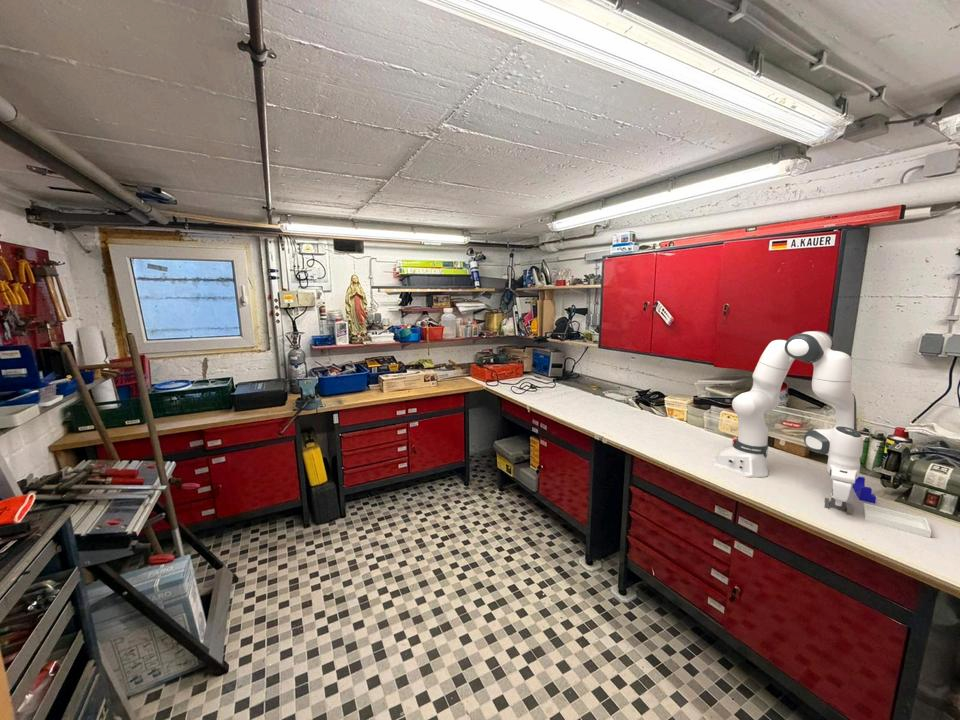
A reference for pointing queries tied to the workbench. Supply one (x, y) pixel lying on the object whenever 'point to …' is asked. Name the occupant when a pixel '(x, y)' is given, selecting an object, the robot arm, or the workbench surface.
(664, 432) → the workbench surface
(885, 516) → the tray
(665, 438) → the workbench surface
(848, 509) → the holder
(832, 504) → the grey block
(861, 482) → the blue stepped block
